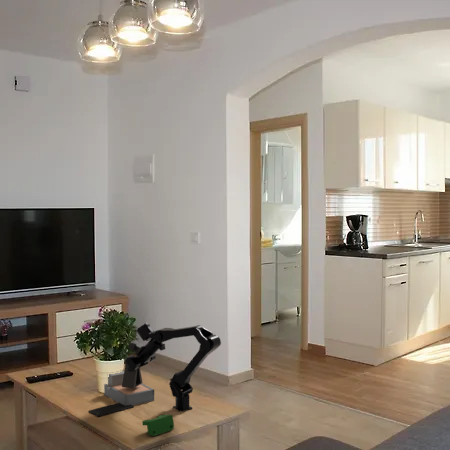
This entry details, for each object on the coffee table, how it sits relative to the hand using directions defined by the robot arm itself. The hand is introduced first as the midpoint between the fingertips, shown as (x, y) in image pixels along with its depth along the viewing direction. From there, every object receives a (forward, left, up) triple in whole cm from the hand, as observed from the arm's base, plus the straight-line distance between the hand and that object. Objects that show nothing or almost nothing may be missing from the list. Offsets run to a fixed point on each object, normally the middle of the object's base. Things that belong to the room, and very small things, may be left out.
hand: (129, 370), depth 263 cm
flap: (+2, -1, -13) cm, 13 cm away
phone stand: (-1, -1, -7) cm, 7 cm away
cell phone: (-8, +13, -14) cm, 21 cm away
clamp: (-41, +9, -14) cm, 44 cm away
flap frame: (+2, -1, -13) cm, 13 cm away
